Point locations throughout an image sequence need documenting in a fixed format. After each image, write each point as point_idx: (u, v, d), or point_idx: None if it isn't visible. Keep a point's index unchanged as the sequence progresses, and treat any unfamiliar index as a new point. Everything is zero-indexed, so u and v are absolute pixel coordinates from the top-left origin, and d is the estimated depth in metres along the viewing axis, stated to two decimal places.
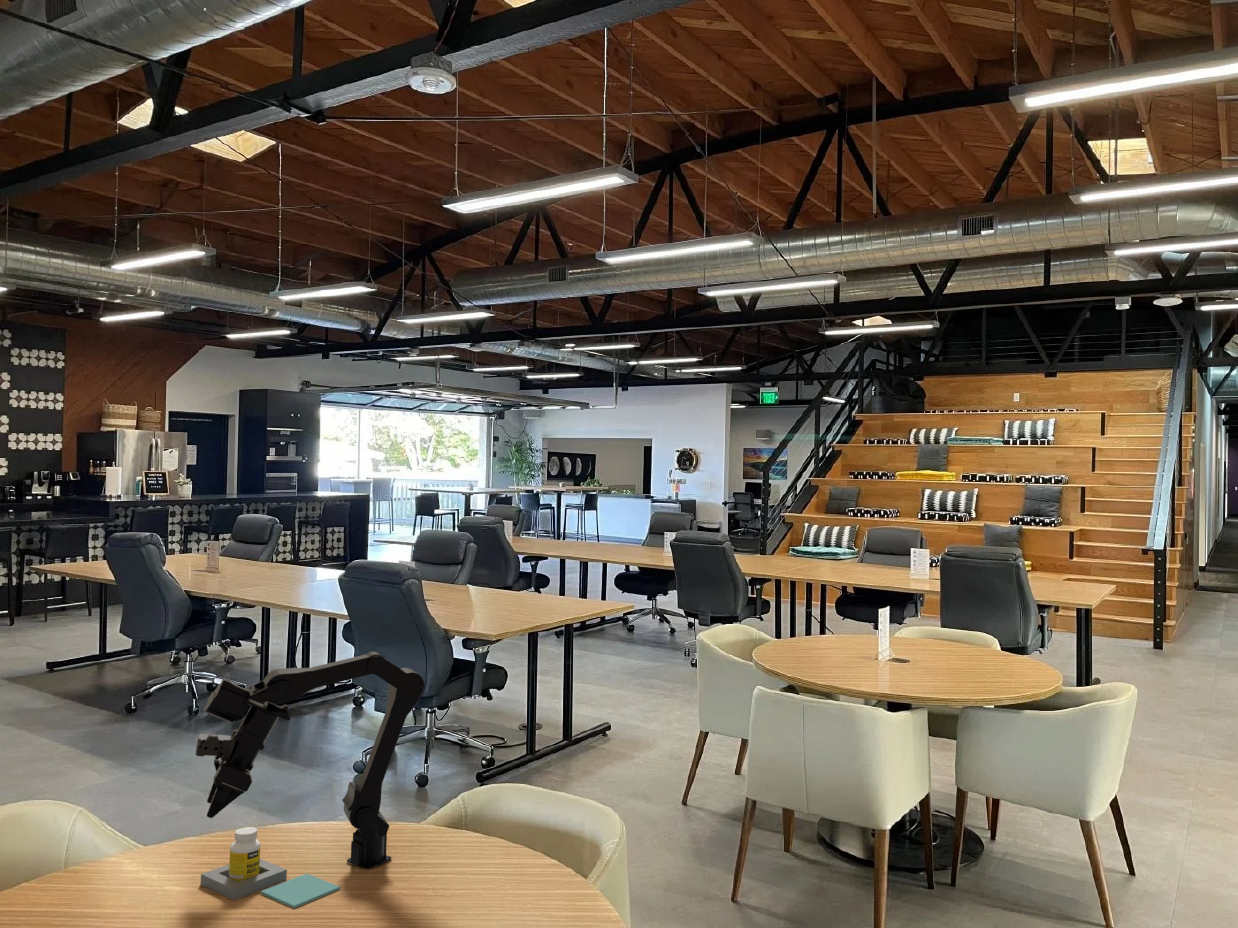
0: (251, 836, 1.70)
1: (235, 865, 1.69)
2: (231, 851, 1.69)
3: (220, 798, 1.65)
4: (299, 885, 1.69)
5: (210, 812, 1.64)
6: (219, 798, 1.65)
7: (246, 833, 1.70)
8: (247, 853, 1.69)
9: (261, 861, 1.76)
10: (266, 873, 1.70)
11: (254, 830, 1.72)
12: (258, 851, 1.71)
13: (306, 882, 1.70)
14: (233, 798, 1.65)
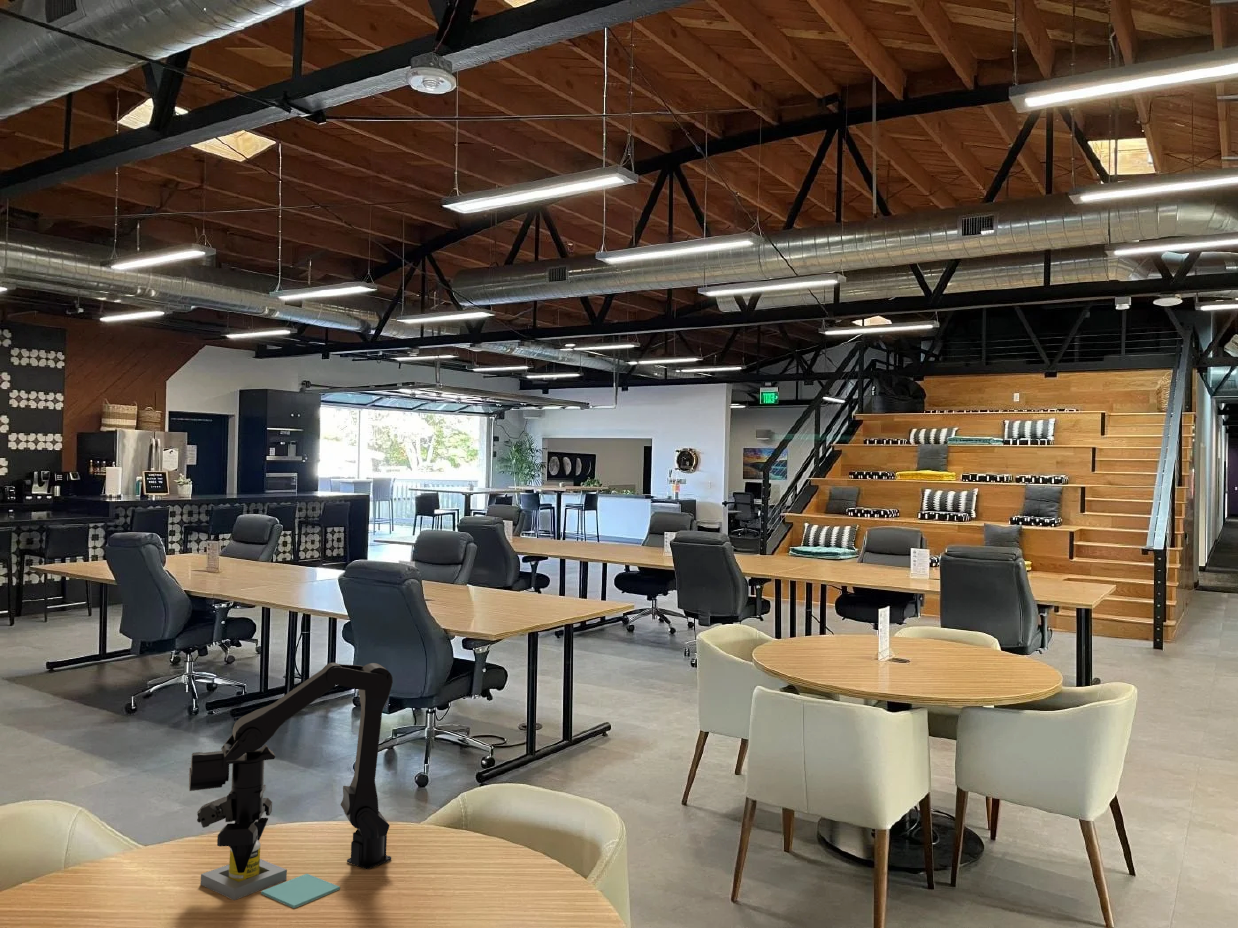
0: None
1: (235, 865, 1.69)
2: (231, 851, 1.69)
3: (240, 853, 1.67)
4: (299, 885, 1.69)
5: (239, 868, 1.68)
6: (239, 854, 1.67)
7: None
8: None
9: (261, 861, 1.76)
10: (266, 873, 1.70)
11: None
12: (258, 851, 1.71)
13: (306, 882, 1.70)
14: (251, 849, 1.67)
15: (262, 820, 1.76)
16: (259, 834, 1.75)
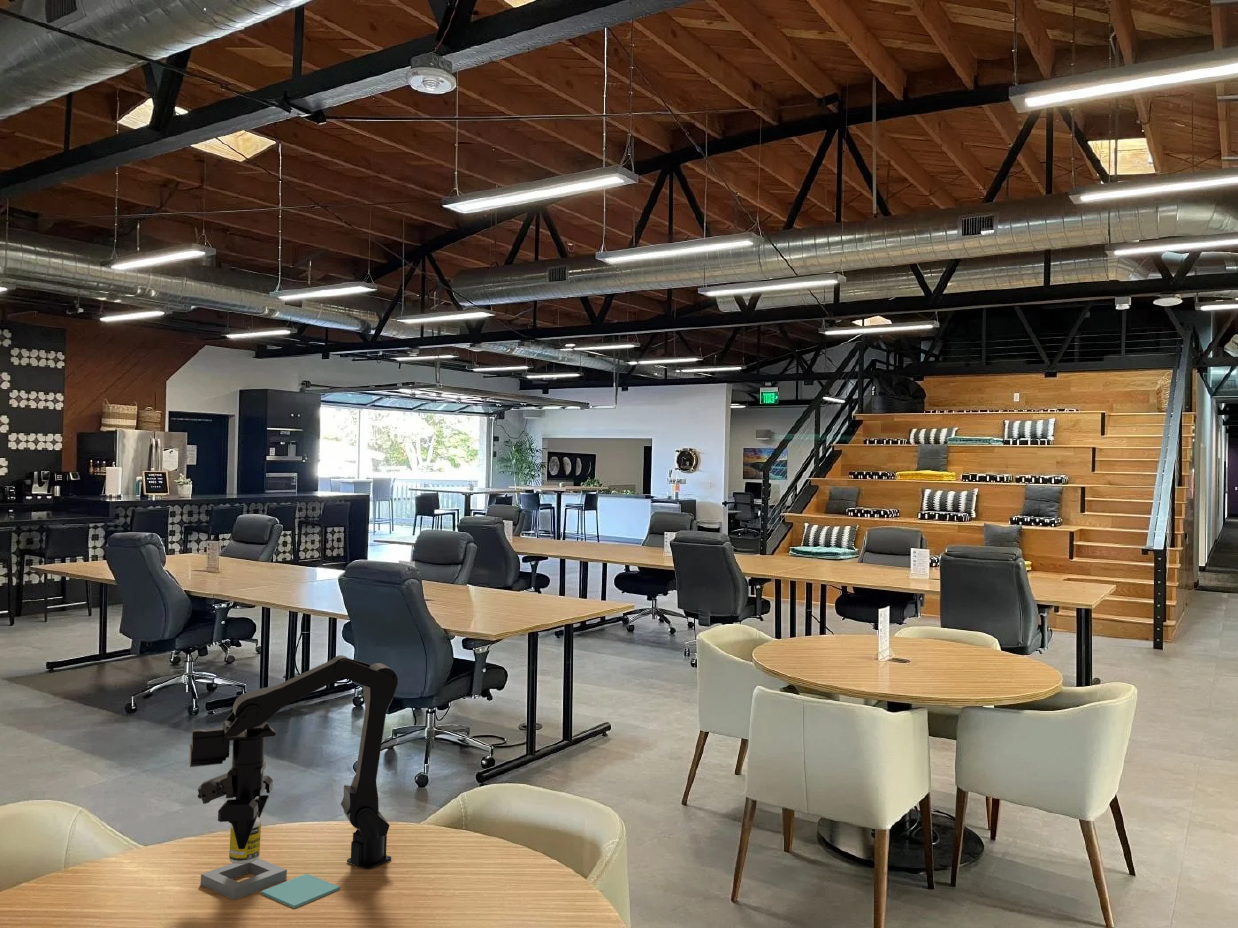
0: None
1: (236, 841, 1.69)
2: (232, 827, 1.70)
3: (241, 829, 1.67)
4: (299, 885, 1.69)
5: (240, 844, 1.68)
6: (240, 830, 1.67)
7: None
8: None
9: (261, 861, 1.76)
10: (266, 873, 1.70)
11: None
12: (259, 828, 1.71)
13: (306, 882, 1.70)
14: (251, 825, 1.67)
15: (263, 797, 1.77)
16: (260, 811, 1.75)
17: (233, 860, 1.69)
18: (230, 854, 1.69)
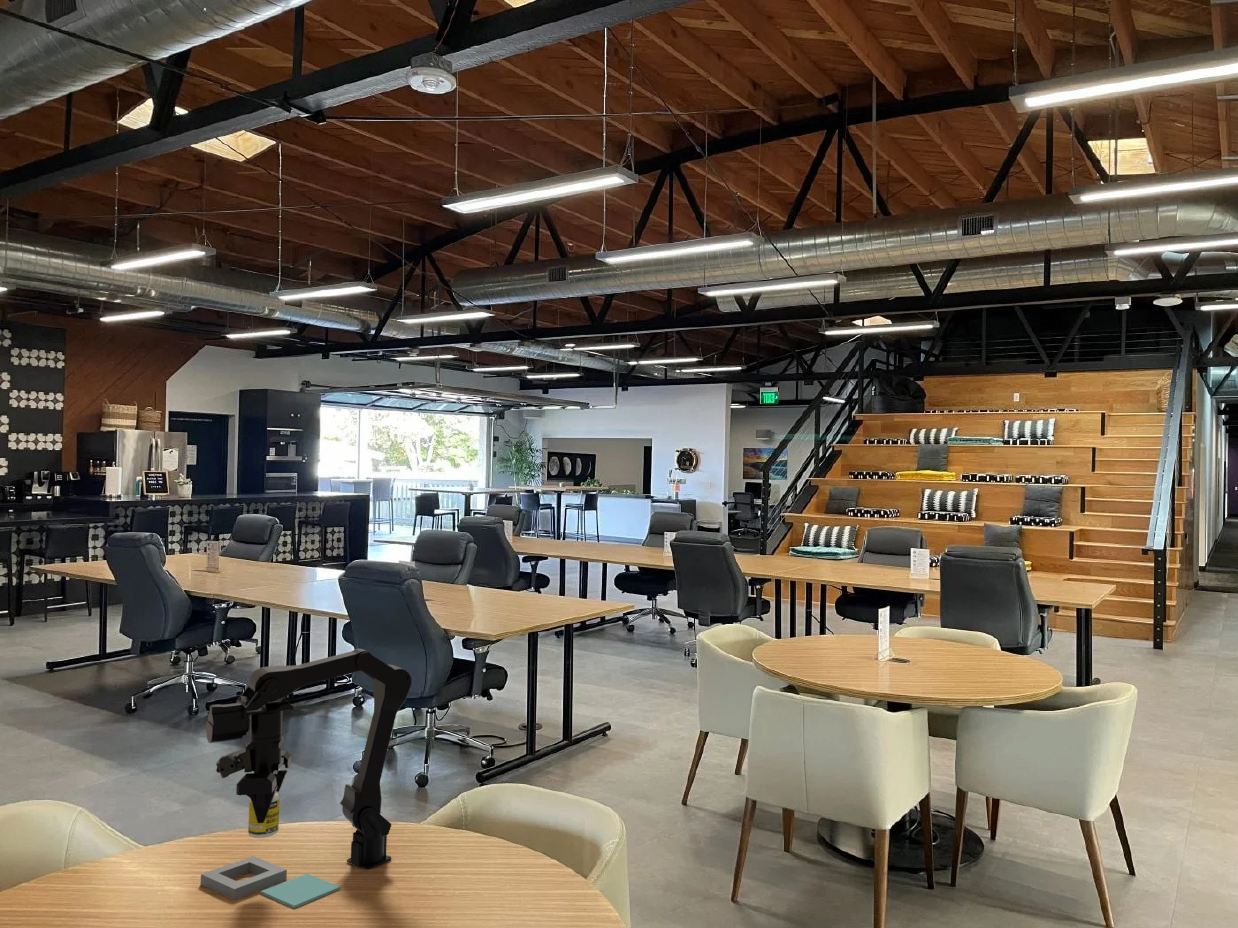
0: None
1: (254, 815, 1.68)
2: (250, 802, 1.69)
3: (259, 803, 1.67)
4: (299, 885, 1.69)
5: (259, 818, 1.67)
6: (258, 804, 1.67)
7: None
8: None
9: (261, 861, 1.76)
10: (266, 873, 1.70)
11: None
12: (277, 802, 1.70)
13: (306, 882, 1.70)
14: (270, 799, 1.67)
15: (281, 772, 1.76)
16: (278, 786, 1.74)
17: (252, 834, 1.68)
18: (249, 828, 1.69)
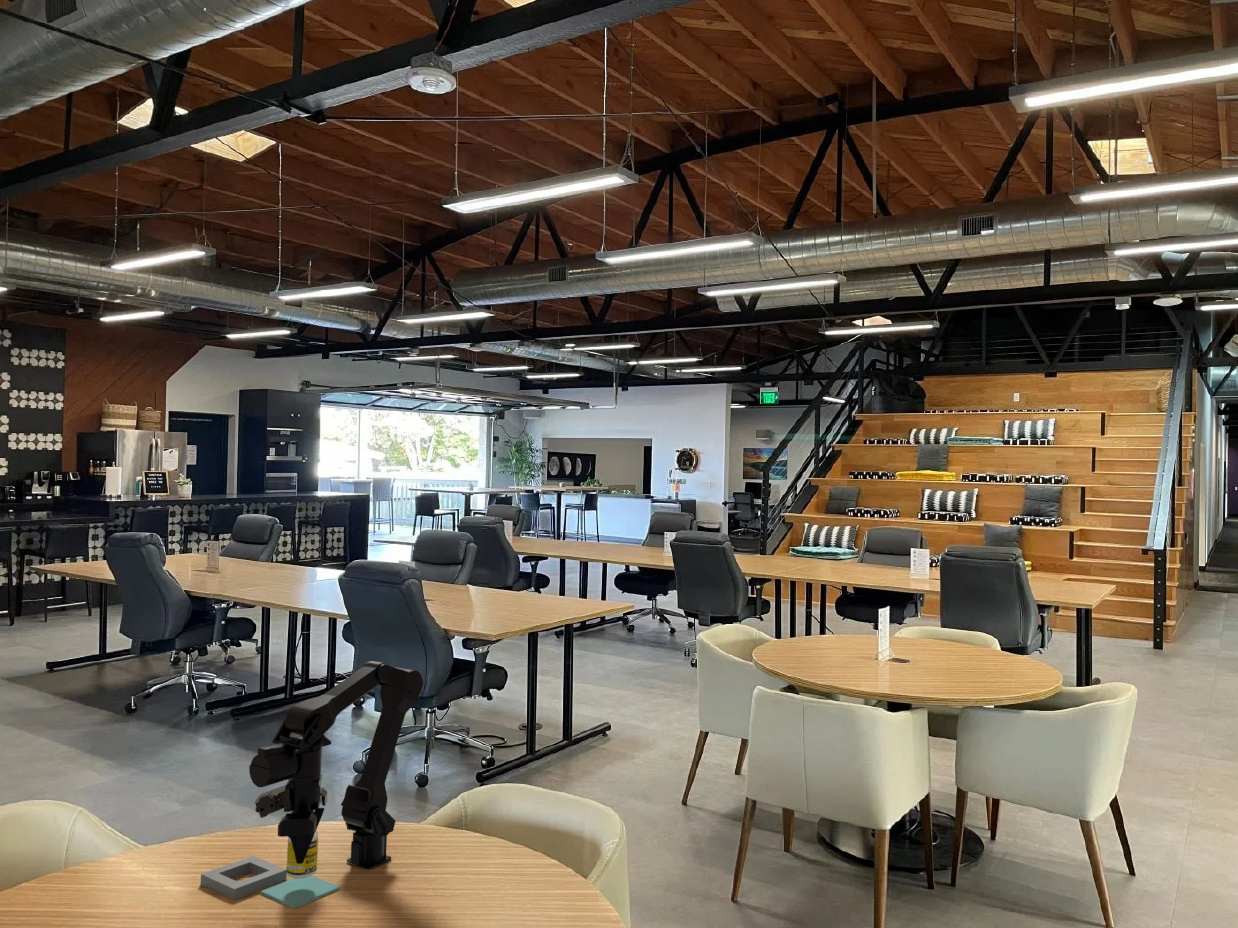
0: None
1: (293, 855, 1.65)
2: (289, 841, 1.66)
3: (299, 844, 1.64)
4: (299, 885, 1.69)
5: (298, 859, 1.65)
6: (298, 844, 1.64)
7: None
8: None
9: (261, 861, 1.76)
10: (266, 873, 1.70)
11: None
12: (316, 841, 1.68)
13: (306, 882, 1.70)
14: (310, 839, 1.64)
15: (318, 810, 1.73)
16: (316, 824, 1.72)
17: (291, 875, 1.65)
18: (288, 868, 1.66)
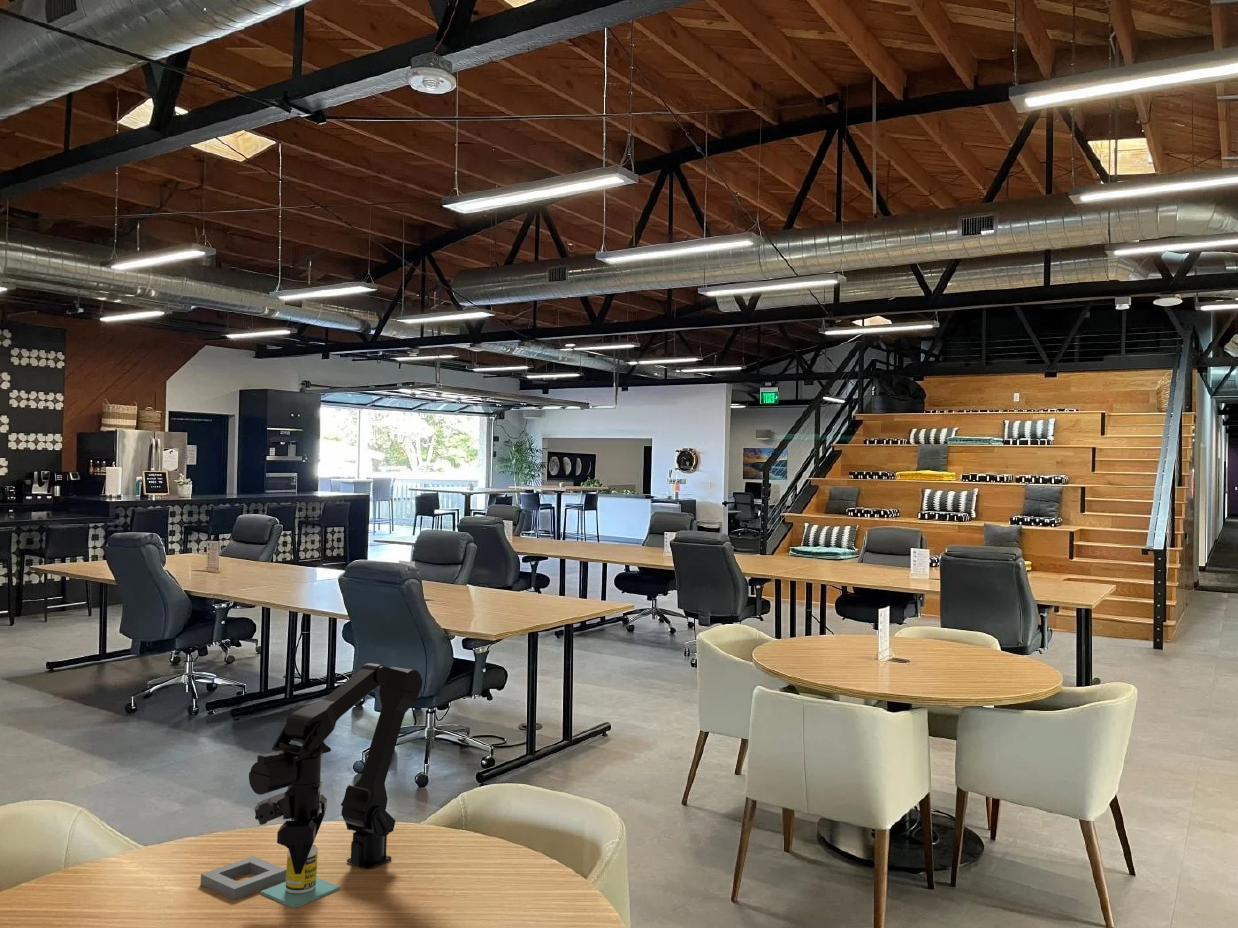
0: None
1: (293, 871, 1.65)
2: (289, 856, 1.66)
3: (297, 854, 1.63)
4: None
5: (296, 869, 1.63)
6: (296, 854, 1.63)
7: None
8: None
9: (261, 861, 1.76)
10: (266, 873, 1.70)
11: None
12: (316, 856, 1.68)
13: None
14: (308, 849, 1.62)
15: (319, 815, 1.74)
16: (316, 829, 1.73)
17: (290, 890, 1.65)
18: (287, 884, 1.66)
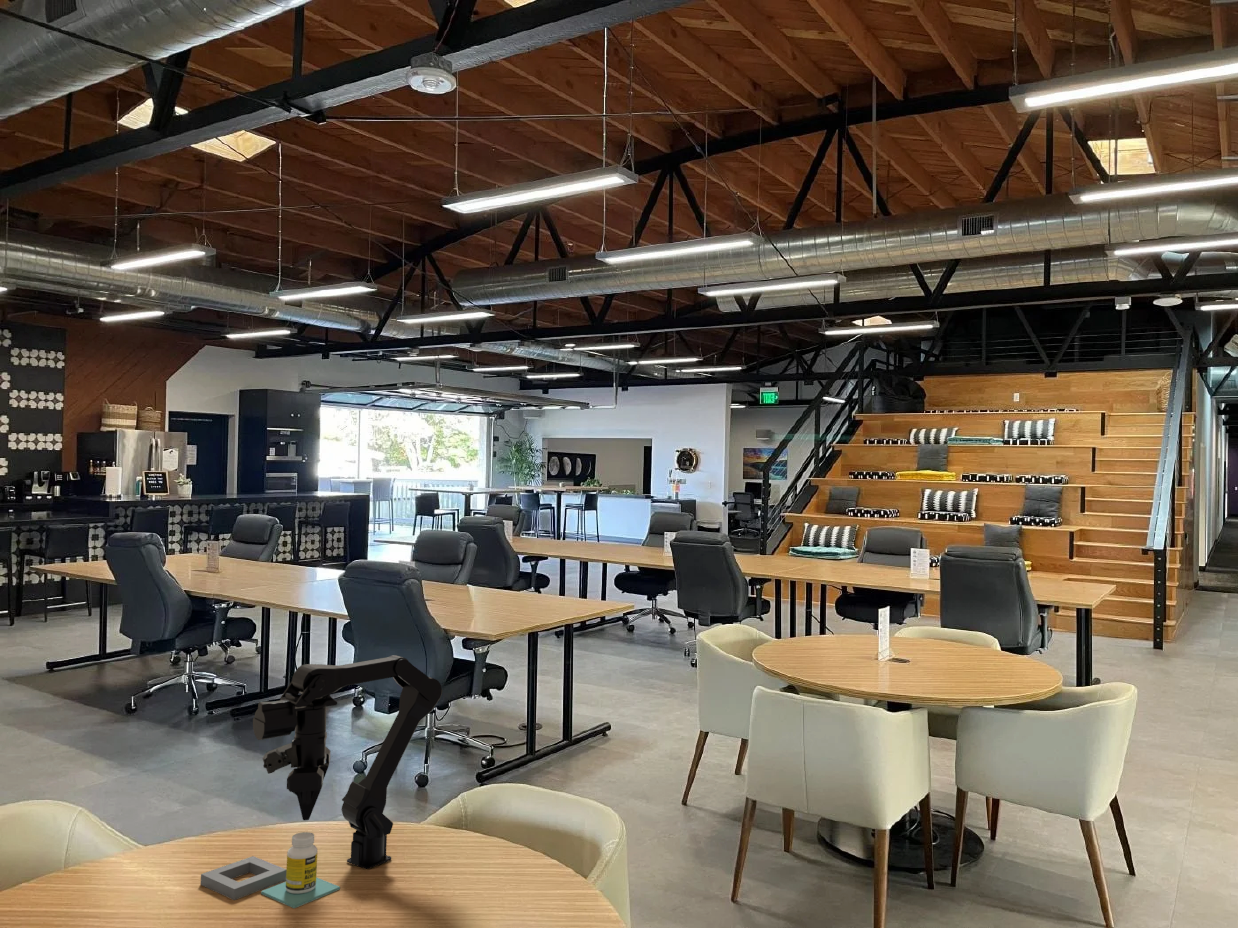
0: (308, 841, 1.67)
1: (293, 871, 1.65)
2: (288, 857, 1.66)
3: (305, 801, 1.68)
4: None
5: (304, 815, 1.69)
6: (304, 801, 1.68)
7: (303, 838, 1.66)
8: (305, 859, 1.65)
9: (261, 861, 1.76)
10: (266, 873, 1.70)
11: (311, 835, 1.68)
12: (315, 856, 1.68)
13: None
14: (316, 796, 1.68)
15: (324, 765, 1.81)
16: (322, 778, 1.79)
17: (290, 890, 1.65)
18: (287, 884, 1.66)
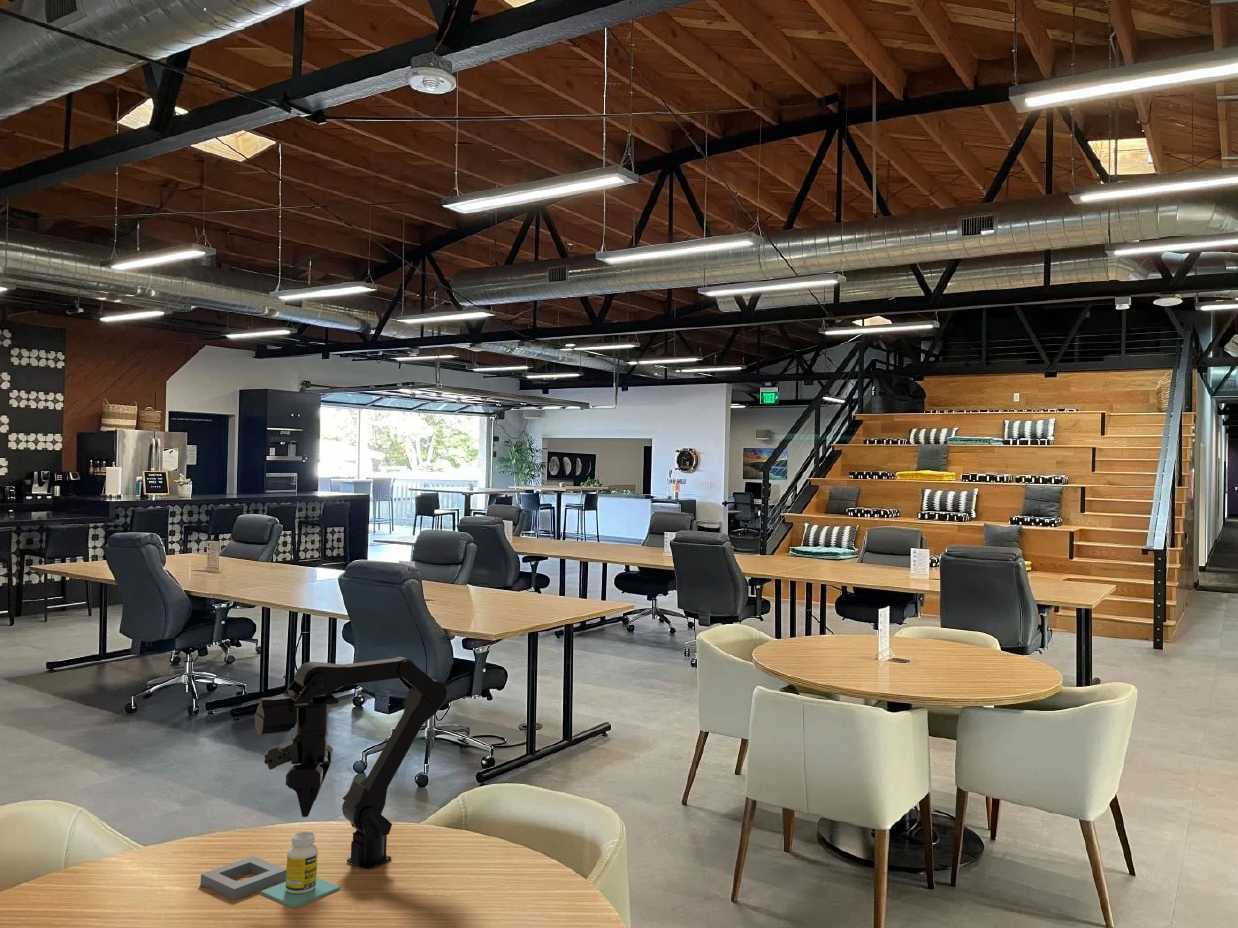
0: (308, 841, 1.67)
1: (293, 871, 1.65)
2: (288, 856, 1.66)
3: (304, 797, 1.69)
4: None
5: (304, 812, 1.70)
6: (303, 798, 1.69)
7: (303, 838, 1.66)
8: (305, 859, 1.66)
9: (261, 861, 1.76)
10: (266, 873, 1.70)
11: (311, 835, 1.68)
12: (315, 856, 1.68)
13: None
14: (315, 793, 1.69)
15: (325, 762, 1.82)
16: (323, 775, 1.80)
17: (290, 890, 1.65)
18: (287, 884, 1.66)
